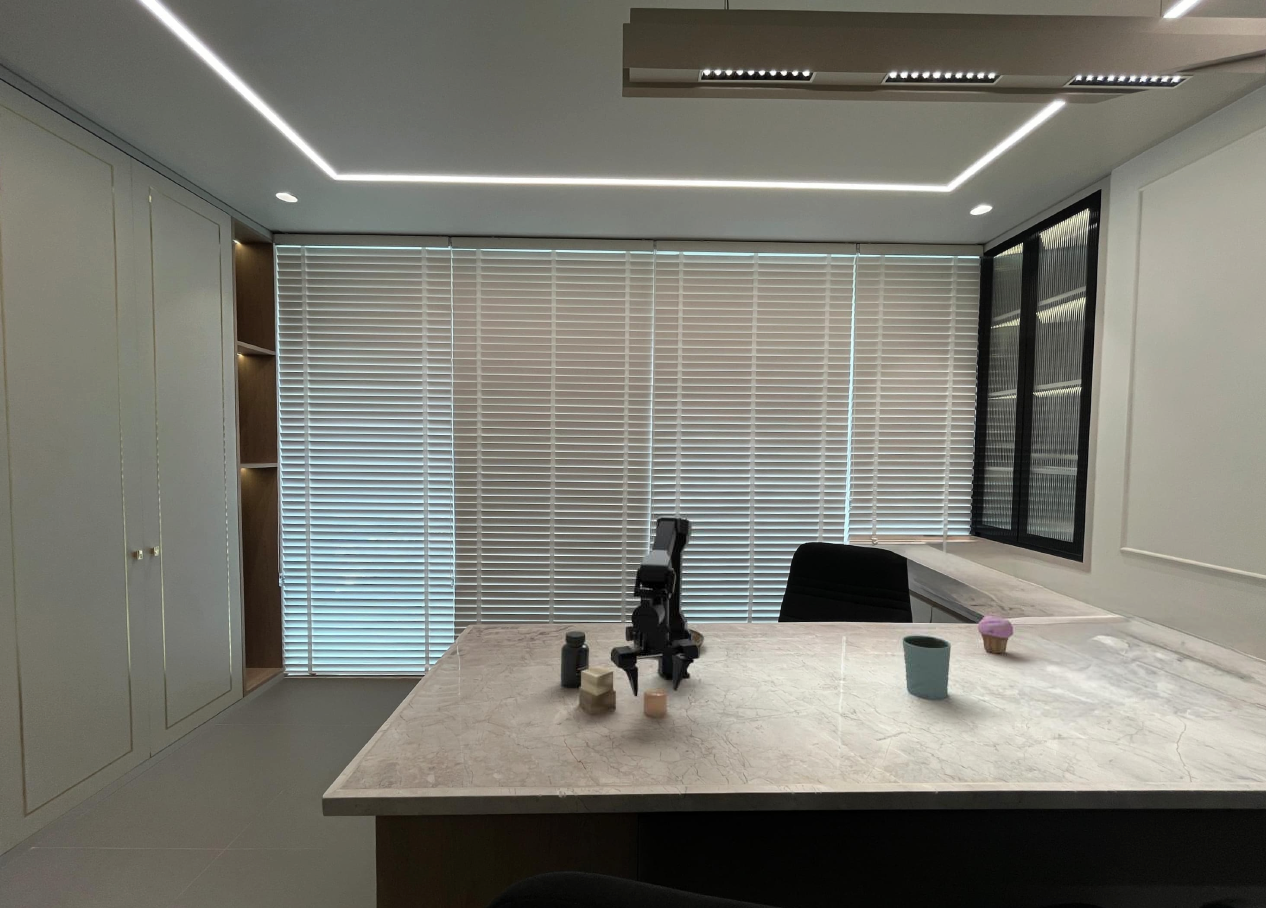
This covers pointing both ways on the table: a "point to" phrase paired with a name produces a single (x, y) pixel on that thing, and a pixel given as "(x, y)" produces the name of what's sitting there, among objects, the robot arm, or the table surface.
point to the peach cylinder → (655, 703)
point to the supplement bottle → (574, 659)
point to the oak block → (597, 680)
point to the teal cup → (927, 666)
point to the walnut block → (597, 701)
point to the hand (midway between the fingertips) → (655, 692)
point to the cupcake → (995, 633)
